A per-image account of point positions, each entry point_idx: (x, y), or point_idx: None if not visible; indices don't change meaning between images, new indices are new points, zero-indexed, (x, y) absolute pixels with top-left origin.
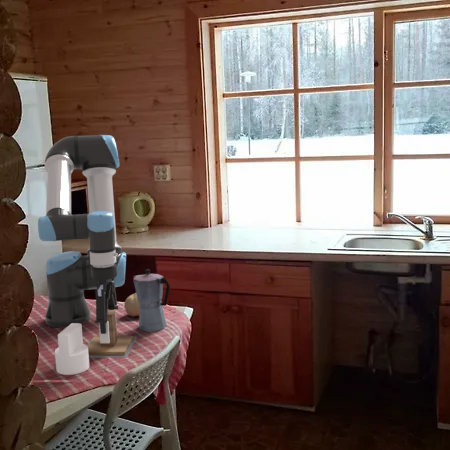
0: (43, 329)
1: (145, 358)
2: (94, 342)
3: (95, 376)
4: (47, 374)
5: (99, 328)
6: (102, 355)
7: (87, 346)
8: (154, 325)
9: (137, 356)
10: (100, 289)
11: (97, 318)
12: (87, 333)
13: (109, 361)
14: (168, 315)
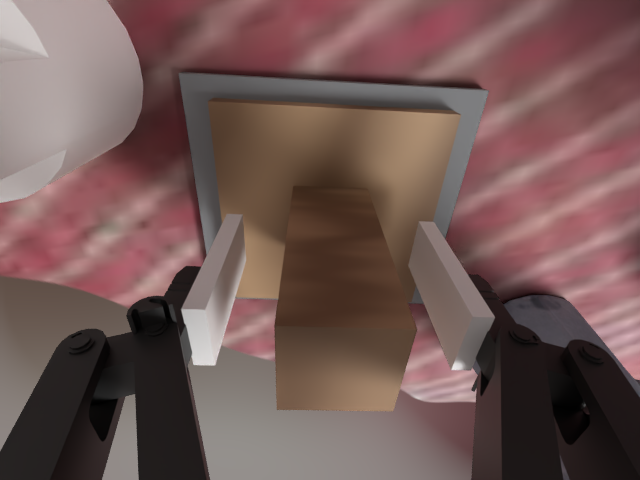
0: None
1: (228, 342)
2: (352, 136)
3: (18, 201)
4: None
5: (198, 275)
6: (218, 199)
7: (33, 192)
8: (479, 371)
9: (244, 318)
10: None
11: (46, 383)
12: (599, 22)
13: (183, 231)
14: (634, 366)
